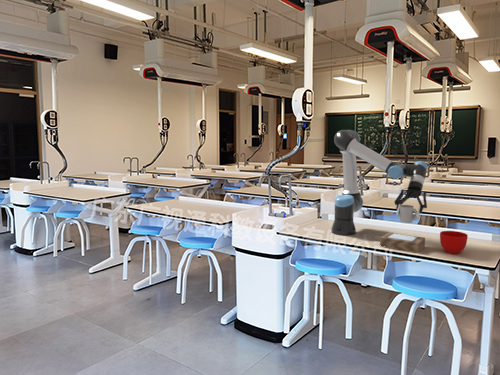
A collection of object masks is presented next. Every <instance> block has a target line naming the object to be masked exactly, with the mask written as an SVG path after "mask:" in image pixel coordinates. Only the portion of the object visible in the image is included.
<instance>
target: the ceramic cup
mask: <svg viewBox="0 0 500 375" xmlns="http://www.w3.org/2000/svg"><path fill="white" fill-rule="evenodd" d="M439 241H440V245H441V247H442V249H443V250H444V252H445V253H447V254H450V253H451V254H453V255H458V254H459V255H460V253H462V252H463V251H464V249H465V248H466V246H467V243H468V233H465V232H461V231H455V230H444V231H440V232H439ZM451 254H450V255H451Z"/></svg>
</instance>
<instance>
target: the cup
mask: <svg viewBox="0 0 500 375" xmlns="http://www.w3.org/2000/svg"><path fill="white" fill-rule="evenodd" d="M417 211H418V209H416V208H415V207H414V205H411V204H402V205H400V212H399V216H398V221H399V222H400V223H403V224H411V223H413V222H414V221H417V219H418V218H417V217H416V215H417Z"/></svg>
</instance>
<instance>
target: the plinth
mask: <svg viewBox="0 0 500 375" xmlns="http://www.w3.org/2000/svg"><path fill="white" fill-rule="evenodd" d="M379 238H380V239H379V246H380V245H381V246H385V247H384V248H387V247H389V249H393V248H394V250H400V251H405V250H406V252H411V251H412V252H411V253H417V252H418V253H419V252H420V251H422V250H423V249H424V248H425V246H426V244H425V243H426V237H422V236H415V235H408V234H402V233H394V232H387V233H386V234H384V235H382V236H380V237H379ZM381 246H380V247H381Z"/></svg>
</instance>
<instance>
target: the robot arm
mask: <svg viewBox="0 0 500 375" xmlns="http://www.w3.org/2000/svg"><path fill="white" fill-rule="evenodd" d="M333 141H334V144H335V146H336V147H337V148H339V152H340V153H341V154H342V171H343V172H342V173H343V187H344V188H343V189H344V190H343V191H342V193H341V194H338V195H337V196H335V198H334V219H333V222H332V226H331V233H332V234H334V235H339V236H350V235H351V236H352V235H355V234H357V229H356V225H355V223H354V222H355V221H354V213H356V212H358V211H360V210H361V208H362V207H363V206H364V199H363V197H362V196H361V191H360V190H359V189H358V188H359V187H358V185H359V184H358V169H357V168H358V167H357V157H358V158H359V159H361V160H363V161H365V162H367V163H368V164H370V165H372V166H373V167H375V168H377V169H378V170H379V171H382V172H384V173H385V174H387V175H388V176H389V178H391V179H395V180H396V179H400V178H402V177H403V178H404V177H407V178H409V184H408V186H407V189H406V190H404V189H401V190H400V192H399V194H398V196H397V198H396V199H395V200H394V205H395V206H396V207H395V209H396V213H395V214H396V216H397V217H399V212H400V205H404V203H405V202H406V201H408V200H409V199H416V200H417V202H418V205H419V206H418V207H417V215H416V217H417V219H419V217H420V215H421V214H423V210H424V209H427V208H428V205H427V195H428V194H427V191H422V190H423V186H424V183H425V180H426V175H427V173H428V164H427V163H426V161H422V160H418V161H416V162H414V164H407V163H399V162H398V163H396V162H393V161H392V160H390V159H388V158H387V157H385V156H383V155H382V154H380V153H378V152H377V151H374V150H373V149H372V148H369V147H367V146H366V145H364V144H362V143H360V142H361V137H360V135H359V133H358V132H357V131H355V130H353V129H341V130H339V131H337V132H336V133H335V135H334V139H333ZM420 196H422V199H423V202H422V200H421V199H420Z"/></svg>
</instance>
